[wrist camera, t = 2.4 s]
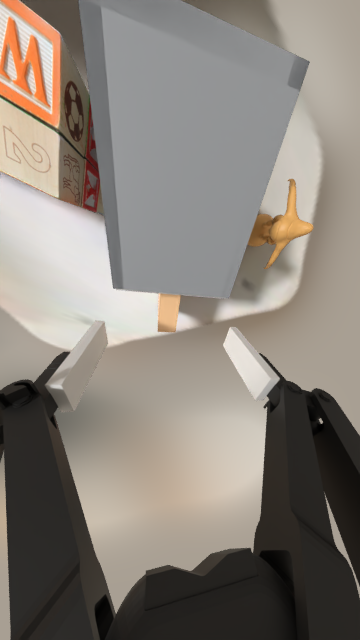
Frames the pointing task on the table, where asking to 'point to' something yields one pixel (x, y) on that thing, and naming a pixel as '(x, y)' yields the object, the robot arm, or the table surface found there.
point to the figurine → (279, 227)
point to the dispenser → (182, 139)
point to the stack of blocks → (45, 111)
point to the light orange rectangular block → (168, 312)
